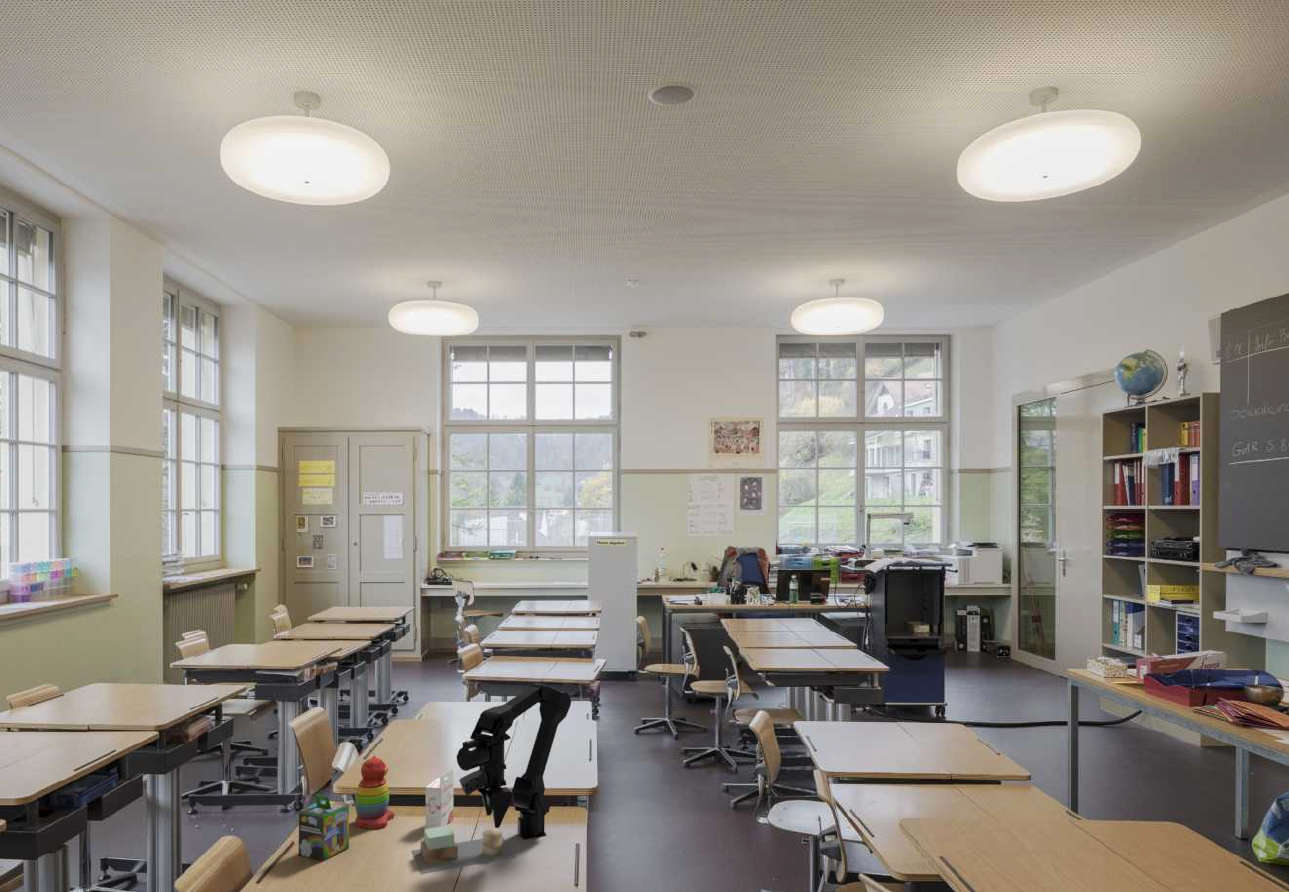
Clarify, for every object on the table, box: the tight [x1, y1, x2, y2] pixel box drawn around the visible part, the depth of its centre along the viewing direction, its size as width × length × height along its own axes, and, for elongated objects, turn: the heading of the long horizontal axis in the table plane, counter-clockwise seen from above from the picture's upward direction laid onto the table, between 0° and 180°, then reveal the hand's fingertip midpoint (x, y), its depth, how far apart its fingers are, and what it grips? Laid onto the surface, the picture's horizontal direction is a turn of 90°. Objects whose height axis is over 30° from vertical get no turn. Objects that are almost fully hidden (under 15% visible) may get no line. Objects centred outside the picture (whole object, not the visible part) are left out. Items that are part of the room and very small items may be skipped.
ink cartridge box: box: [424, 768, 455, 829], centre depth 233 cm, size 9×5×15 cm, turn 168°
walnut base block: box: [420, 839, 458, 864], centre depth 211 cm, size 8×8×3 cm
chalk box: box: [298, 793, 350, 862], centre depth 215 cm, size 9×9×15 cm
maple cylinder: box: [482, 828, 503, 857], centre depth 213 cm, size 5×5×5 cm
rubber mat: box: [411, 836, 517, 875], centre depth 212 cm, size 24×15×1 cm, turn 114°
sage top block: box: [423, 824, 455, 851], centre depth 212 cm, size 6×6×3 cm
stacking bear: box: [354, 755, 396, 830], centre depth 236 cm, size 11×10×18 cm
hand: (492, 821), depth 214 cm, fingers open, 9 cm apart
